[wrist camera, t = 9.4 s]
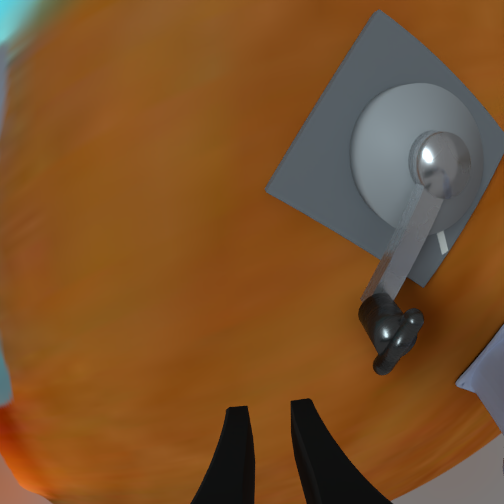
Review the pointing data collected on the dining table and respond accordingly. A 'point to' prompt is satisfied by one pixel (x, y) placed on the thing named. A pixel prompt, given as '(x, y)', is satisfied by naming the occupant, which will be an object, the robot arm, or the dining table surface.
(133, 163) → the dining table surface
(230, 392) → the dining table surface
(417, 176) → the crank
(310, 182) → the crank base
